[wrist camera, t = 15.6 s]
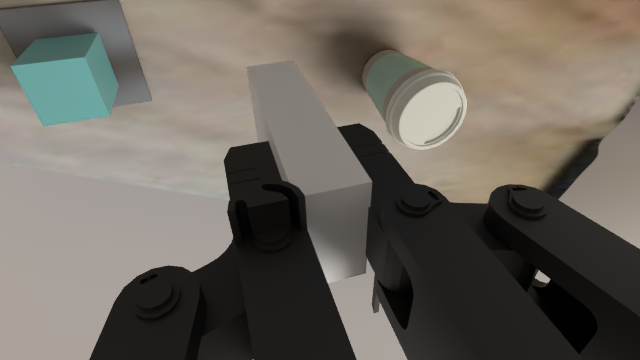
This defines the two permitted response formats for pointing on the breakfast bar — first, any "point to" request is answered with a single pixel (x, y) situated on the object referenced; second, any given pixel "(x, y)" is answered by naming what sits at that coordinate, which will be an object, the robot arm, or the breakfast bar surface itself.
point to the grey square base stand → (77, 20)
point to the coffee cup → (414, 99)
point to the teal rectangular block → (67, 78)
